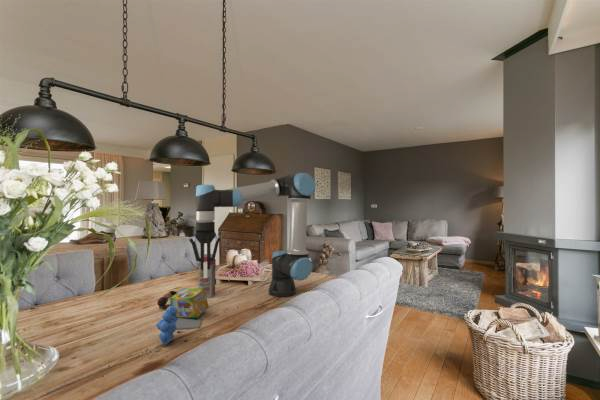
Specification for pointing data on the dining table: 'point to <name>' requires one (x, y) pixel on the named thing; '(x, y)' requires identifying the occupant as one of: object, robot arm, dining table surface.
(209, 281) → the juice carton
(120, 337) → the dining table surface
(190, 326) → the mat
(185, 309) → the chalk box
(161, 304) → the brown ring
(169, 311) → the grapes
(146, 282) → the dining table surface
